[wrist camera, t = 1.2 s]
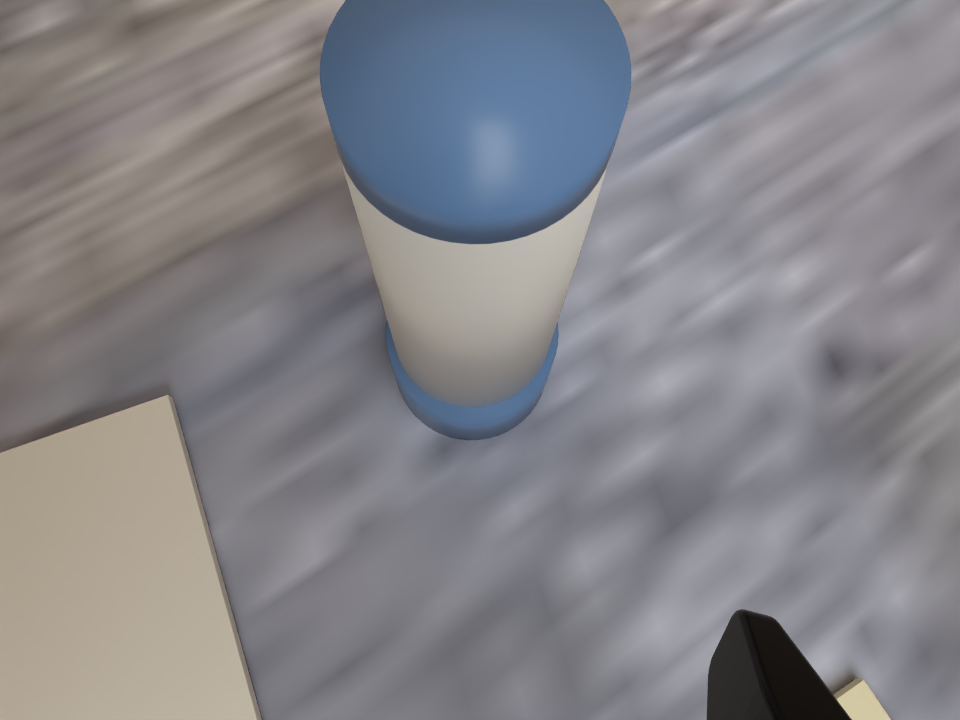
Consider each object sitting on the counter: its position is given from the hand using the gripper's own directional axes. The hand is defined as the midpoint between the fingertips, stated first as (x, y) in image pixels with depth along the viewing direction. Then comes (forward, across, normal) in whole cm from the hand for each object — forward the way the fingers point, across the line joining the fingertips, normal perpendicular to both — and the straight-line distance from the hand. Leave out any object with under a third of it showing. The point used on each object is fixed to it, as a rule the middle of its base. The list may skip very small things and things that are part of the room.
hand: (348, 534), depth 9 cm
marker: (+12, 0, +4) cm, 13 cm away
